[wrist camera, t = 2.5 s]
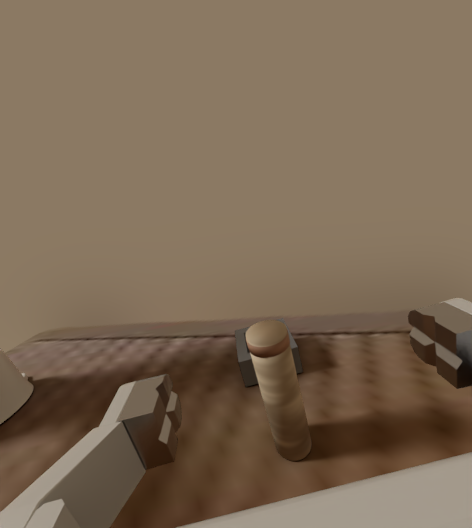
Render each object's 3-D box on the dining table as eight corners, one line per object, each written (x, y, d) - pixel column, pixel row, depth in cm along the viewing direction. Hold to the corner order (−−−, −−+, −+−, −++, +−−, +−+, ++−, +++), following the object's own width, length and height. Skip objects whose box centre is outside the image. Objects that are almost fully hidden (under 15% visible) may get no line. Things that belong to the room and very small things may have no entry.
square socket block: (245, 386, 34) (238, 362, 33) (240, 351, 42) (234, 330, 41) (303, 371, 34) (297, 346, 33) (287, 339, 42) (282, 318, 41)
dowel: (279, 465, 24) (247, 348, 20) (271, 430, 27) (243, 325, 24) (318, 455, 24) (292, 337, 20) (305, 421, 27) (281, 315, 24)
